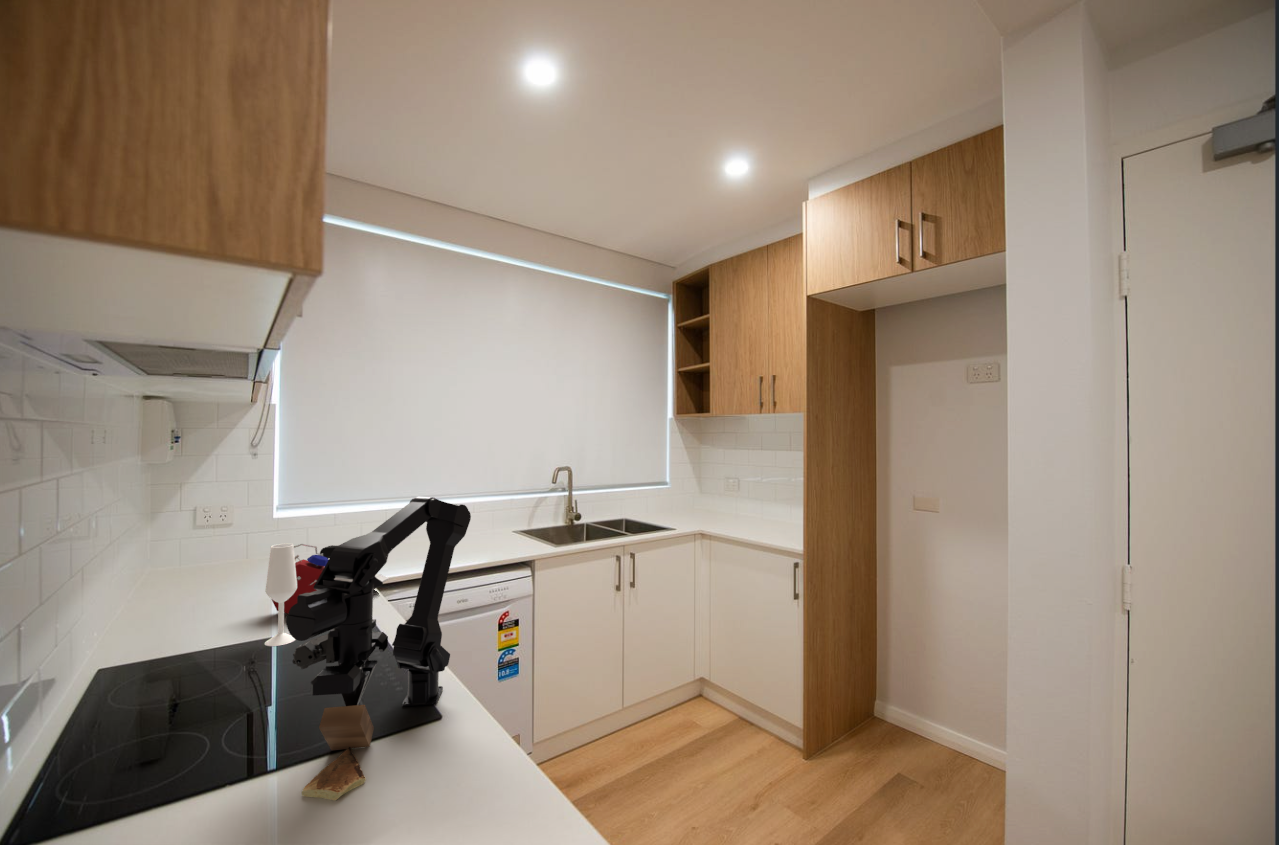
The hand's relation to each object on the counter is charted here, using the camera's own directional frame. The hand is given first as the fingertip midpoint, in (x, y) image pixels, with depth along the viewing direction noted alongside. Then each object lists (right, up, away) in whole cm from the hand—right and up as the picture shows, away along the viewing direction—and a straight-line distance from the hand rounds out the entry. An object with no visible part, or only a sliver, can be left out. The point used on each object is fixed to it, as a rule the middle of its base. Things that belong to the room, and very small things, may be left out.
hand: (352, 711), depth 91 cm
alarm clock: (-49, -6, +63) cm, 80 cm away
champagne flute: (-42, -6, +44) cm, 61 cm away
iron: (-47, -7, +84) cm, 97 cm away
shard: (+1, -7, -8) cm, 11 cm away
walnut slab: (0, -5, +1) cm, 5 cm away
